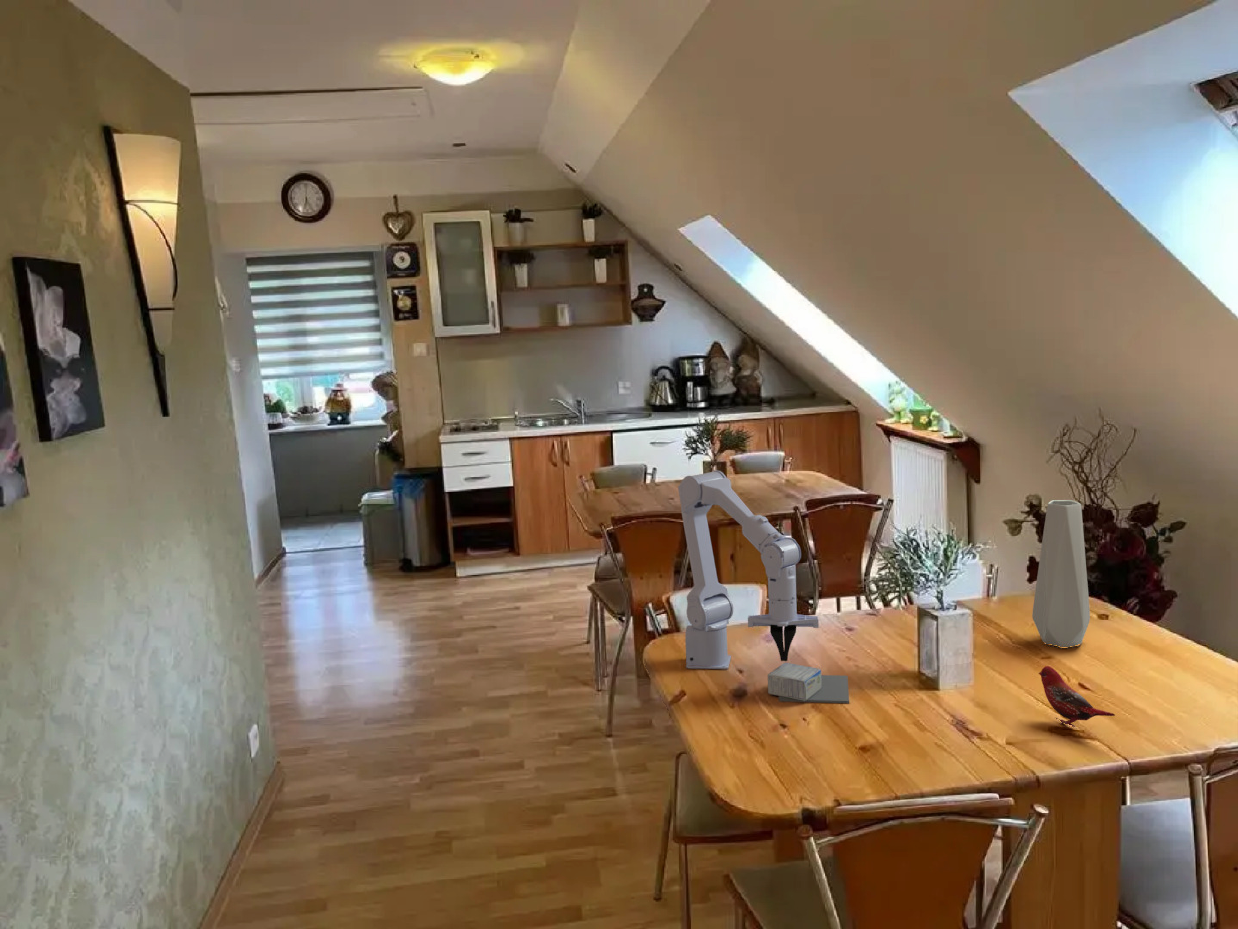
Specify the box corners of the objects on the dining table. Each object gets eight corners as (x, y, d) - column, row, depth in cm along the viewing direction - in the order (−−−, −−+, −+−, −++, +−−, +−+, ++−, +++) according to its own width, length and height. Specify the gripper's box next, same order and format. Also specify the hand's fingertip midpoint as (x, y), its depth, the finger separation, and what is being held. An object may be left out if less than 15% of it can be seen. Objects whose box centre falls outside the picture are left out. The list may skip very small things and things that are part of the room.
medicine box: (767, 693, 199) (805, 702, 194) (766, 673, 199) (805, 681, 193) (784, 681, 206) (822, 689, 200) (784, 661, 205) (821, 668, 200)
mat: (778, 701, 196) (778, 699, 196) (781, 676, 210) (781, 674, 210) (849, 703, 193) (849, 701, 193) (847, 677, 207) (847, 675, 207)
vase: (1038, 631, 229) (1039, 496, 225) (1091, 639, 223) (1094, 499, 218) (1025, 647, 220) (1027, 505, 215) (1081, 655, 213) (1083, 509, 208)
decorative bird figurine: (1044, 710, 185) (1044, 661, 184) (1120, 746, 169) (1121, 692, 167) (1032, 713, 184) (1032, 663, 183) (1108, 750, 168) (1109, 695, 166)
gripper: (745, 602, 198) (748, 665, 200) (817, 602, 195) (819, 667, 197) (748, 592, 205) (750, 653, 207) (818, 593, 201) (819, 655, 203)
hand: (784, 659), depth 202 cm, fingers closed
